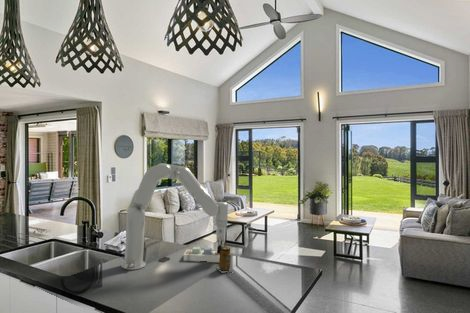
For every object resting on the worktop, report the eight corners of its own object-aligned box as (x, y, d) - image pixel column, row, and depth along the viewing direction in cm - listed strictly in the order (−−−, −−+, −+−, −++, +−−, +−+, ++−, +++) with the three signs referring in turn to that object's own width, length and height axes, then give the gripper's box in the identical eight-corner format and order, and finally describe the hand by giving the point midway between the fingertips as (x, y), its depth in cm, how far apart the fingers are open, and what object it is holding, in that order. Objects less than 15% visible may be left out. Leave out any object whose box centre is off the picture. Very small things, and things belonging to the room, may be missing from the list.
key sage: (199, 255, 177) (199, 249, 177) (192, 254, 177) (192, 249, 177) (200, 252, 181) (200, 247, 181) (193, 252, 181) (193, 246, 181)
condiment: (228, 267, 167) (229, 246, 167) (233, 272, 159) (234, 250, 159) (216, 268, 165) (217, 246, 165) (220, 274, 157) (221, 251, 157)
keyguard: (226, 262, 174) (226, 255, 174) (183, 260, 174) (183, 253, 174) (227, 257, 184) (227, 250, 184) (186, 255, 184) (186, 248, 184)
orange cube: (222, 260, 177) (222, 254, 177) (215, 259, 177) (215, 253, 177) (222, 257, 181) (223, 251, 181) (215, 257, 181) (216, 251, 181)
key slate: (211, 255, 177) (211, 250, 177) (203, 255, 177) (204, 249, 177) (211, 253, 181) (212, 247, 181) (204, 253, 181) (204, 247, 181)
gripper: (226, 225, 172) (225, 257, 172) (227, 220, 187) (226, 249, 187) (214, 224, 172) (212, 256, 172) (215, 219, 187) (214, 248, 187)
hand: (219, 252), depth 179 cm, fingers closed
